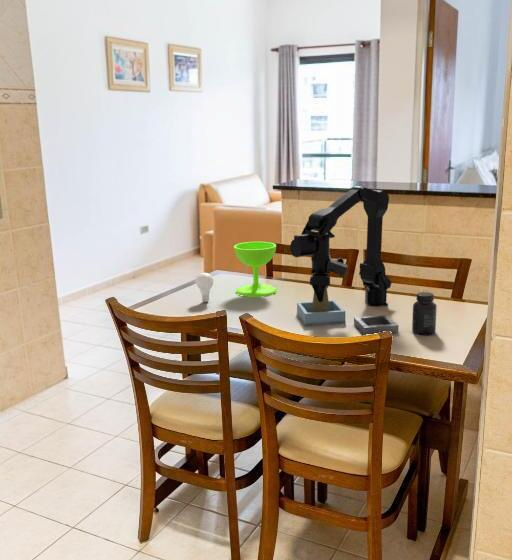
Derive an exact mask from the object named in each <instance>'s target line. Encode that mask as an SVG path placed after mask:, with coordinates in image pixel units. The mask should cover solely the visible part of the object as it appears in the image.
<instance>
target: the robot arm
mask: <svg viewBox="0 0 512 560" xmlns="http://www.w3.org/2000/svg"><path fill="white" fill-rule="evenodd" d="M359 202H362V205H363V209H364V212H365V213H366V216H367V230H366V254H365V255H366V257H365V260H364V261H363V263H362V262H360V263H359V273H358V275H359V276H360V279H361V281H362V285H363V286H364V287H365V286H366V290H365V292H364V294H365V295H364V297H365V298H364V303H366V304H367V305H368V306H369V307H381V306H383V305H384V306H389V303H388V302H387V297H388V296H387V293H388V292H387V291H388V290H389V289H391V286H392V281H391V279H389V277H388V276H387V275H386V274H387V273H386V267H385V264H384V262H383V259H382V242H383V219H384V218H383V217H384V216H385V214H386V212H387V211H388V209H389V204H390V203H389V202H390V196H389V194H388V193H387V192H386V191H385V190H378V189H377V190H376V189H370V188H367V187H365V186H359V185H356V186H355V185H354V186H352V187H350V189H349V190H348V191H347V192H345V193H344V194H343V195H342V196H341V197H339V198H338V199H337V200H335V201H334V202H333V203H331V204H330V205H329V206H327V207H325V208H323V209H318V210H317V211H315V212H312V213H311V214H310V215H309V217H308V219H307V222H306V224H305V225H304V228H303V229H302V232H301V234H300V235H299V234H295V235H294V236H293V239H292V241H290V245H289V251H290V253H291V255H292V257H294V258H302V257H306V256H311V257H310V260H311V270H310V271H311V275H310V276H309V277H310V278H309V286H311V287H312V289H313V293H314V292H315V294H316V296H317V299H318V301H319V302H322V301H323V296H324V291H325V287H326V286H327V285H329V286H330V285H331V272H332V273H334V274H337V275H339V276H340V277H345V275H346V272H347V269H348V264H347V263H345V262H344V258H342V257H338V258H337V259H332V258H331V257H332V256H331V255H330V239H333V238H334V239H335V237H336V235H335V234H334V233H332V231H331V230H332V229H333V228H334V227H335V226H336V225H337V222H338V220H339V219H340V217H342V216H343V215H344V214H345V213H347V212H349V210H351V209H352V208H353V207H354V206H356V205H357V204H358V203H359Z"/></svg>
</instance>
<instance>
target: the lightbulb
mask: <svg viewBox="0 0 512 560" xmlns="http://www.w3.org/2000/svg"><path fill="white" fill-rule="evenodd" d="M195 284H196V287H197V288H198V289H199V292H200V294H201V301H202V302H203V303H209V301H210V293H211V292H210V291H211V289H212V287H213V285H214V278H213V276H212V275H211V274H210V273H209V272H201V273H199V274H198V275H197V276H196V278H195Z"/></svg>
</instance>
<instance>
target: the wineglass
mask: <svg viewBox="0 0 512 560" xmlns="http://www.w3.org/2000/svg"><path fill="white" fill-rule="evenodd" d="M233 249H234V250H233V251H234V253H235V255H236V257H237V259H238V260H239V261H240V262H241V263H242V264H244V265H245V266H249V267H252V272H253V282H252V284H247V285H246V284H245V285H243V286H242V285H241V286H240V287H238V288H237V289H236V290H235V294H236V293H237V294H239V295H243V296H249V297H248V298H262V297H261V296H266V297H269V296H268V295H271V296H273V295H272V294H274V293H275V294H277V293H278V290H277V288H276V287H274V285H271V284H270V285H269V284H261V283H260V282H259V267H262V266H265V265H267V264H268V263H269V262H271V260H272V259H273V257H274V255H275V253H276V250H277V244H276V243H273V242H269V241H246V242H241V243H236V244H235V245H234V246H233ZM276 292H277V293H276ZM237 294H236V295H237ZM275 294H274V295H275ZM239 295H238V296H239ZM243 296H242V297H243Z"/></svg>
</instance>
